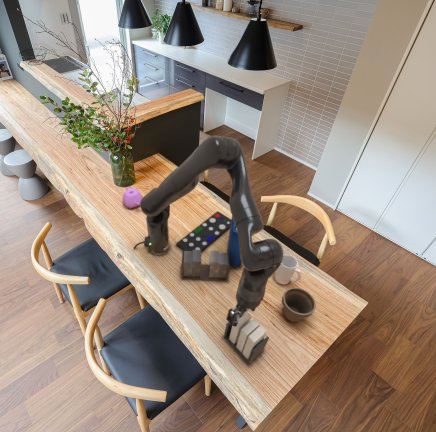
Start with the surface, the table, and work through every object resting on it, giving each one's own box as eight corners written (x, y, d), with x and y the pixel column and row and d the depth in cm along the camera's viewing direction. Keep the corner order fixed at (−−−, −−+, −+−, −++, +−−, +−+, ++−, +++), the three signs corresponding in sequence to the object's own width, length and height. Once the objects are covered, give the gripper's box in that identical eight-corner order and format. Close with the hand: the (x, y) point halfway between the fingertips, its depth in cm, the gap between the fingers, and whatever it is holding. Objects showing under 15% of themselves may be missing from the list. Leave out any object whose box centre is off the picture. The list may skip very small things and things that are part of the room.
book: (241, 271, 132) (250, 232, 114) (225, 268, 133) (231, 229, 115) (243, 234, 147) (252, 195, 129) (229, 232, 148) (235, 193, 130)
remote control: (234, 224, 152) (235, 221, 151) (193, 258, 137) (194, 255, 136) (217, 213, 158) (217, 210, 157) (176, 245, 143) (176, 242, 141)
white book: (228, 338, 110) (233, 320, 100) (240, 328, 113) (245, 310, 103) (234, 344, 109) (239, 326, 99) (245, 334, 111) (251, 315, 101)
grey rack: (181, 279, 130) (181, 262, 121) (182, 264, 135) (182, 247, 127) (227, 281, 128) (230, 264, 120) (226, 266, 134) (229, 249, 125)
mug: (270, 278, 129) (276, 260, 121) (279, 269, 132) (286, 251, 124) (291, 293, 124) (299, 276, 115) (300, 283, 127) (308, 266, 119)
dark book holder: (223, 337, 111) (227, 318, 101) (238, 325, 115) (243, 305, 104) (248, 364, 104) (255, 347, 94) (263, 351, 108) (271, 332, 97)
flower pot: (302, 300, 122) (310, 286, 114) (312, 327, 113) (320, 314, 106) (273, 301, 122) (279, 287, 114) (281, 328, 113) (288, 315, 106)
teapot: (137, 193, 170) (135, 180, 164) (148, 209, 161) (147, 195, 154) (119, 199, 167) (117, 186, 160) (130, 216, 157) (128, 202, 151)
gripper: (257, 269, 94) (249, 296, 105) (224, 294, 87) (219, 320, 99) (276, 285, 89) (265, 312, 101) (243, 313, 83) (235, 338, 95)
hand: (242, 316), depth 100 cm, fingers open, 8 cm apart
